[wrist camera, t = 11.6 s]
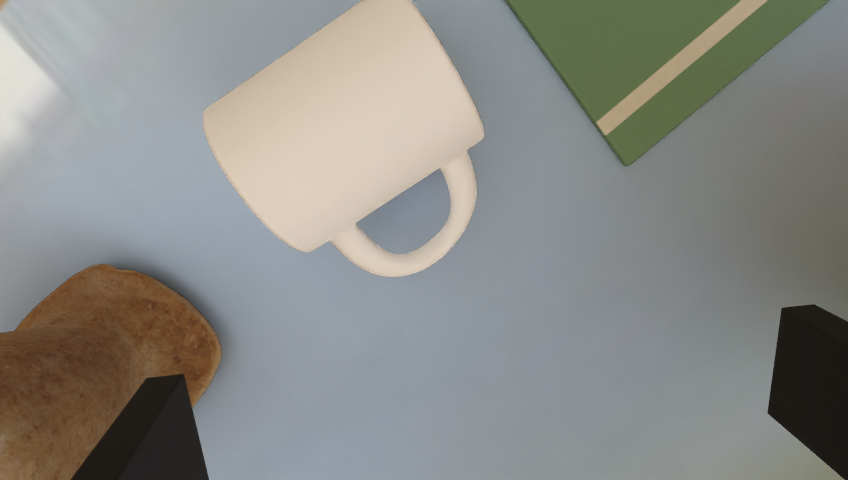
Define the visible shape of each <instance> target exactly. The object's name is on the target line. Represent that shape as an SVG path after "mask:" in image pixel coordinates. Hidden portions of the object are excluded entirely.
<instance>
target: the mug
mask: <svg viewBox="0 0 848 480" xmlns="http://www.w3.org/2000/svg"><path fill="white" fill-rule="evenodd" d="M203 127H204V131H205V135H206V138H207V140H208V143H209V145H210V148H211V150H212V152H213V154H214V156H215V158H216V160H217V161H218V163H219V165H220V167H221V168H222V170H223V172H224V173H225V175H226V176H227V178H228V180H229V181H230V183H231V184H232V185H233V187H234V188H235V190H236V191H237V192H238V194H239V195H240V196H241V198H242V199H243V200H244V202H245V203H246V204H247V205H248V207H249V208H250V209H251V210H252V211H253V213H254V214H255V215H256V216H257V217H258V218H259V219H260V220H261V221H262V222H263V223H264V224H265V226H266V227H267V228H269V229H270V230H271V231H272V232H273V233H274V234H275V235H276V236H277V237H279V238H280V239H281V240H282V241H284V242H285V243H286V244H288V245H289V246H291V247H293V248H294V249H297V250H299V251H302V252H311V251H313V250H315V249H316V248H318V247H320V246H321V245H323V244H324V243H326V242H327V241H330V242H332V243H333V244H334V246H335V247H336V248H337V249H338V250H339V251H340V252H341V253H342V254H343V255H344V256H345V257H347V258H348V259H349V260H350V261H352V262H353V263H354V264H356V265H357V266H359V267H360V268H362V269H364V270H366V271H368V272H370V273H373V274H376V275H381V276H387V277H399V276H406V275H410V274H414V273H416V272H419V271H421V270H423V269H425V268H427V267H429V266H431V265H432V264H434V263H435V262H437V261H438V260H439V259H440V258H442V257H443V256H444V255H445V254H446V253H447V252H448V251H449V250H450V249H451V248H452V247H453V246H454V245H455V243H456V242H457V241H458V240H459V238H460V237H461V235H462V234H463V232H464V231H465V229H466V227H467V225H468V223H469V221H470V219H471V217H472V214H473V211H474V207H475V203H476V195H477V185H476V177H475V173H474V169H473V166H472V163H471V160H470V157H469V155H468V152H467V150H468V149H469V148H471V147H472V146H474V145H475V144H477V143H478V142H480V141H481V140H482V139H483V137H484V127H483V124H482V121H481V118H480V116H479V113H478V111H477V109H476V107H475V104H474V102H473V100H472V98H471V96H470V94H469V92H468V90H467V88H466V86H465V85H464V83H463V81H462V79H461V77H460V75H459V74H458V72H457V70H456V68H455V67H454V65H453V63H452V61H451V60H450V58H449V56H448V55H447V53H446V51H445V50H444V48H443V46H442V45H441V43H440V42H439V40H438V38H437V37H436V35H435V34H434V32H433V31H432V29H431V28H430V26H429V25H428V23H427V22H426V20H425V19H424V17H423V16H422V15H421V13H420V12H419V10H418V9H417V8H416V6H415V5H414V4H413V2H412V1H411V0H362V1H361V2H359V3H358V4H356V5H355V6H353V7H352V8H350V9H349V10H348V11H346V12H345V13H343V14H342V15H340V16H339V17H337V18H336V19H335V20H333V21H332V22H330V23H329V24H327V25H326V26H324V27H323V28H322V29H320V30H319V31H317V32H316V33H314V34H313V35H311V36H310V37H309V38H307V39H306V40H304V41H303V42H301V43H300V44H298V45H297V46H296V47H294V48H293V49H291V50H290V51H288V52H287V53H285V54H284V55H283V56H281V57H280V58H278V59H277V60H275V61H274V62H272V63H271V64H270V65H268V66H267V67H265V68H264V69H262V70H261V71H259V72H258V73H257V74H255V75H254V76H252V77H251V78H249V79H248V80H246V81H245V82H244V83H242V84H241V85H239V86H238V87H236V88H235V89H234V90H232V91H231V92H229V93H228V94H226V95H225V96H223V97H222V98H221V99H219V100H218V101H216V102H215V103H213V104H212V105H210V106H209V107H208V108H207V109H206V110H205V111H204V114H203ZM437 169H440V170H441V171H442V173H443V175H444V177H445V180H446V183H447V185H448V189H449V193H450V200H451V209H450V215H449V218H448V220H447V222H446V224H445V225H444V227H443V228H442V229H441V230H440V231H439V232H438V233H437V234H436V235H435V236H434V237H433V238H432V239H431V240H430V241H428V242H427V243H426V244H424V245H423V246H421V247H420V248H418V249H416V250H414V251H412V252H409V253H406V254H394V253H391V252H388V251H386V250H384V249H382V248H381V247H379V246H378V245H377V244H375V243H374V242H373V241H372V240H371V239H370V238H369V237H367V236H366V235H365V234H364V232H363V231H362V230H361V229H360V228H359V227H358V226H357V222H358V221H359V220H361V219H362V218H364V217H365V216H367V215H368V214H370V213H371V212H373V211H374V210H376V209H378V208H379V207H381V206H382V205H384V204H385V203H387V202H388V201H390V200H391V199H393V198H394V197H396V196H397V195H399V194H400V193H402V192H403V191H405V190H407V189H408V188H410V187H411V186H413V185H414V184H416V183H417V182H419V181H420V180H422V179H423V178H425V177H426V176H428V175H429V174H431V173H432V172H434V171H436V170H437Z"/></svg>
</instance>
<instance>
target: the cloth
mask: <svg viewBox="0 0 848 480" xmlns="http://www.w3.org/2000/svg"><path fill="white" fill-rule="evenodd" d="M505 1H506V2H507V3H508V5H509V6H510V8H511V9H512V10H513V12H514V13H515V15H516V16H517V17H518V19H519V20H520V21H521V23H522V24H523V26H524V27H525V28H526V30H527V31H528V33H529V34H530V35H531V37H532V38H533V40H534V41H535V42H536V44H537V45H538V46H539V48H540V49H541V51H542V52H543V53H544V55H545V56H546V58H547V59H548V60H549V62H550V63H551V65H552V66H553V67H554V69H555V70H556V71H557V73H558V74H559V76H560V77H561V78H562V80H563V81H564V83H565V84H566V85H567V87H568V88H569V90H570V91H571V92H572V94H573V95H574V96H575V98H576V99H577V101H578V102H579V103H580V105H581V106H582V108H583V109H584V110H585V112H586V113H587V114H588V116H589V117H590V119H591V120H592V121H593V123H594V124H595V126H596V127H597V128H598V130H599V131H600V133H601V134H602V135H603V137H604V138H605V139H606V141H607V142H608V144H609V145H610V146H611V148H612V149H613V151H614V152H615V153H616V155H617V156H618V158H619V159H620V160H621V162H622V163H623V164H624V165H625V166H629V165H630V164H631V163H632V162H634V161H635V160H636V159H637V158H639V157H640V156H641V155H642V154H643V153H645V152H646V151H647V150H648V149H650V148H651V147H652V146H653V145H654V144H656V143H657V142H658V141H659V140H660V139H662V138H663V137H664V136H665V135H667V134H668V133H669V132H670V131H671V130H673V129H674V128H675V127H676V126H677V125H679V124H680V123H681V122H682V121H684V120H685V119H686V118H687V117H688V116H690V115H691V114H692V113H693V112H694V111H696V110H697V109H698V108H699V107H701V106H702V105H703V104H704V103H705V102H707V101H708V100H709V99H710V98H711V97H713V96H714V95H715V94H716V93H718V92H719V91H720V90H721V89H722V88H724V87H725V86H726V85H727V84H729V83H730V82H731V81H732V80H733V79H735V78H736V77H737V76H738V75H739V74H741V73H742V72H743V71H744V70H746V69H747V68H748V67H749V66H750V65H752V64H753V63H754V62H755V61H756V60H758V59H759V58H760V57H761V56H763V55H764V54H765V53H766V52H767V51H769V50H770V49H771V48H772V47H773V46H775V45H776V44H777V43H778V42H780V41H781V40H782V39H783V38H784V37H786V36H787V35H788V34H789V33H790V32H792V31H793V30H794V29H795V28H797V27H798V26H799V25H800V24H801V23H803V22H804V21H805V20H806V19H808V18H809V17H810V16H811V15H812V14H814V13H815V12H816V11H817V10H818V9H820V8H821V7H822V6H823V5H825V4H826V3H827V2H828V1H829V0H505Z"/></svg>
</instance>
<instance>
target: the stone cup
mask: <svg viewBox="0 0 848 480" xmlns="http://www.w3.org/2000/svg"><path fill="white" fill-rule="evenodd" d="M221 357H222V350H221V344H220V341H219V337H218V336H217V334H216V332H215V331H214V329H213V327H212V326H211V325H210V324H209V322H208V321H207V320H206V319H205V318H204V316H203V315H202V314H201V313H200V312H199V311H198V310H197V309H196V308H195V307H194V306H193V305H192V304H191V303H190V302H188V301H187V300H186V299H185V298H183V297H182V296H181V295H179V294H178V293H177V292H175V291H173V290H172V289H170V288H168V287H167V286H165V285H163V284H162V283H160V282H159V281H157V280H156V279H154V278H152V277H150V276H148V275H146V274H143V273H140V272H137V271H133V270H118V269H117V268H115V267H113V266H112V265H107V264H98V265H93V266H90V267H88V268H86V269H84V270H82V271H80V272H79V273H77V274H75V275H74V276H72V277H71V278H70V279H68V280H67V281H66V282H64V283H63V284H62V285H60V286H59V287H58V288H57V289H56V290H54V291H53V292H52V293H51V294H50V295H49V296H47V297H46V298H45V299H44V300H43V301H42V302H41V303H39V304H38V305H37V306H36V307H35V308H34V309H33V310H32V311H31V312H30V313H29V314H28V315H27V316H26V318H25V319H24V320H23V321H22V322H21V323H20V325H19V326H18V327H17V329H16V330H15V331H12V332H5V333H0V480H70V479H71V478H72V477H73V475H74V474H75V473H76V471H77V470H78V469H79V467H80V466H81V465H82V463H83V462H84V461H85V459H86V458H87V457H88V455H89V454H90V453H91V451H92V450H93V449H94V447H95V446H96V445H97V443H98V442H99V441H100V439H101V438H102V437H103V435H104V434H105V433H106V431H107V430H108V429H109V427H110V426H111V425H112V423H113V422H114V421H115V419H116V418H117V417H118V415H119V414H120V413H121V411H122V410H123V409H124V407H125V406H126V405H127V403H128V402H129V401H130V399H131V398H132V397H133V395H134V394H135V392H136V391H137V390H138V388H139V387H140V386H141V384H142V383H143V382H144V380H145V379H146V378H150V377H159V376H169V375H178V374H184V376H185V380H186V384H187V389H188V393H189V397H190V401H191V406H192V408H193V406H194V405H195V404H196V403H197V401H198V400H199V399H200V397H201V396H202V395H203V393H204V392H205V391H206V389H207V388H208V386H209V385H210V383H211V382H212V380H213V377H214V375H215V373H216V371H217V368H218V366H219V363H220V360H221Z"/></svg>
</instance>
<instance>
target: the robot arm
mask: <svg viewBox="0 0 848 480" xmlns="http://www.w3.org/2000/svg"><path fill="white" fill-rule="evenodd" d="M768 414H769V415H770V416H771V417H773V418H774V419H775V420H776V421H777V422H778V423H780V424H781V425H782V426H783V427H784V428H785V429H787V430H788V431H789V432H790V433H791V434H792V435H794V436H795V437H796V438H797V439H798V440H799V441H801V442H802V443H803V444H804V445H805V446H806V447H808V448H809V449H810V450H811V451H812V452H813V453H815V454H816V455H817V456H818V457H819V458H820V459H822V460H823V461H824V462H825V463H826V464H827V465H829V466H830V467H831V468H832V469H833V470H834V471H836V472H837V473H838V474H839V475H840V476H841V477H843V478H844V479H845V480H848V322H847V321H845V320H843V319H841V318H839V317H838V316H836V315H834V314H832V313H830V312H828V311H826V310H824V309H822V308H820V307H818V306H816V305H814V304H813V305H803V306H794V307H785V308H782V310H781V318H780V325H779V332H778V340H777V347H776V355H775V362H774V369H773V377H772V384H771V392H770V399H769V406H768ZM70 480H209V478H208V474H207V470H206V465H205V461H204V457H203V453H202V448H201V444H200V440H199V436H198V431H197V427H196V423H195V419H194V414H193V410H192V406H191V401H190V397H189V393H188V389H187V384H186V380H185V376H184V374H178V375H169V376H159V377H150V378H146V379H145V380H144V382H143V383H142V384H141V386H140V387H139V388H138V390H137V391H136V392H135V394H134V395H133V397H132V398H131V399H130V401H129V402H128V403H127V405H126V406H125V407H124V409H123V410H122V411H121V413H120V414H119V415H118V417H117V418H116V419H115V421H114V422H113V423H112V425H111V426H110V427H109V429H108V430H107V431H106V433H105V434H104V435H103V437H102V438H101V439H100V441H99V442H98V443H97V445H96V446H95V447H94V449H93V450H92V451H91V453H90V454H89V455H88V457H87V458H86V459H85V461H84V462H83V463H82V465H81V466H80V467H79V469H78V470H77V471H76V473H75V474H74V475H73V477H72V478H71V479H70Z"/></svg>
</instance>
